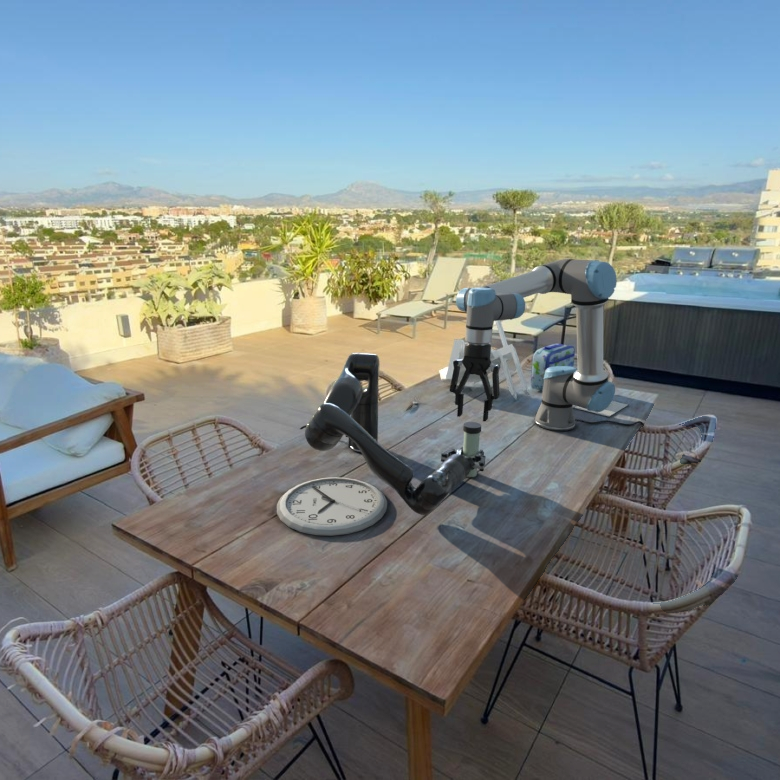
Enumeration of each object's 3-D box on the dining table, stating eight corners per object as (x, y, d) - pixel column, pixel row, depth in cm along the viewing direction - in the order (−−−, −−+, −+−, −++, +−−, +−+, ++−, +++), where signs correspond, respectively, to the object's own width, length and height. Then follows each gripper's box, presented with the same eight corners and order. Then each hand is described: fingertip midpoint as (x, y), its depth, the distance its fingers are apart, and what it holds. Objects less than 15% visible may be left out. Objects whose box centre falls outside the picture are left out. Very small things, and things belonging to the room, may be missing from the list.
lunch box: (547, 395, 239) (552, 351, 233) (526, 390, 247) (530, 347, 240) (574, 384, 257) (579, 343, 251) (554, 380, 264) (558, 339, 258)
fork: (403, 411, 216) (403, 406, 215) (414, 400, 230) (414, 395, 230) (409, 412, 215) (409, 407, 215) (420, 400, 229) (420, 396, 229)
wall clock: (392, 527, 129) (268, 531, 127) (391, 533, 130) (269, 537, 127) (383, 473, 158) (282, 475, 155) (383, 478, 158) (282, 480, 156)
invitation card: (608, 416, 214) (573, 407, 224) (608, 416, 214) (573, 408, 224) (628, 404, 229) (594, 396, 238) (628, 405, 229) (594, 397, 238)
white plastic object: (461, 429, 252) (437, 405, 227) (444, 352, 274) (420, 323, 250) (535, 404, 240) (518, 377, 215) (510, 326, 262) (492, 293, 237)
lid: (484, 431, 158) (485, 425, 157) (472, 435, 155) (472, 429, 154) (472, 426, 162) (472, 420, 161) (459, 429, 159) (459, 424, 158)
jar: (479, 474, 162) (483, 426, 157) (469, 478, 159) (472, 430, 155) (469, 469, 166) (472, 422, 161) (458, 473, 163) (461, 425, 158)
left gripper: (429, 477, 153) (451, 456, 167) (475, 489, 146) (495, 466, 161) (430, 454, 151) (453, 434, 165) (477, 465, 144) (496, 444, 158)
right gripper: (516, 344, 149) (508, 419, 156) (449, 336, 158) (445, 408, 164) (509, 349, 143) (502, 427, 149) (440, 341, 151) (436, 415, 158)
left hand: (473, 450), depth 163 cm, fingers closed on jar, 4 cm apart
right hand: (472, 417), depth 157 cm, fingers open, 7 cm apart
